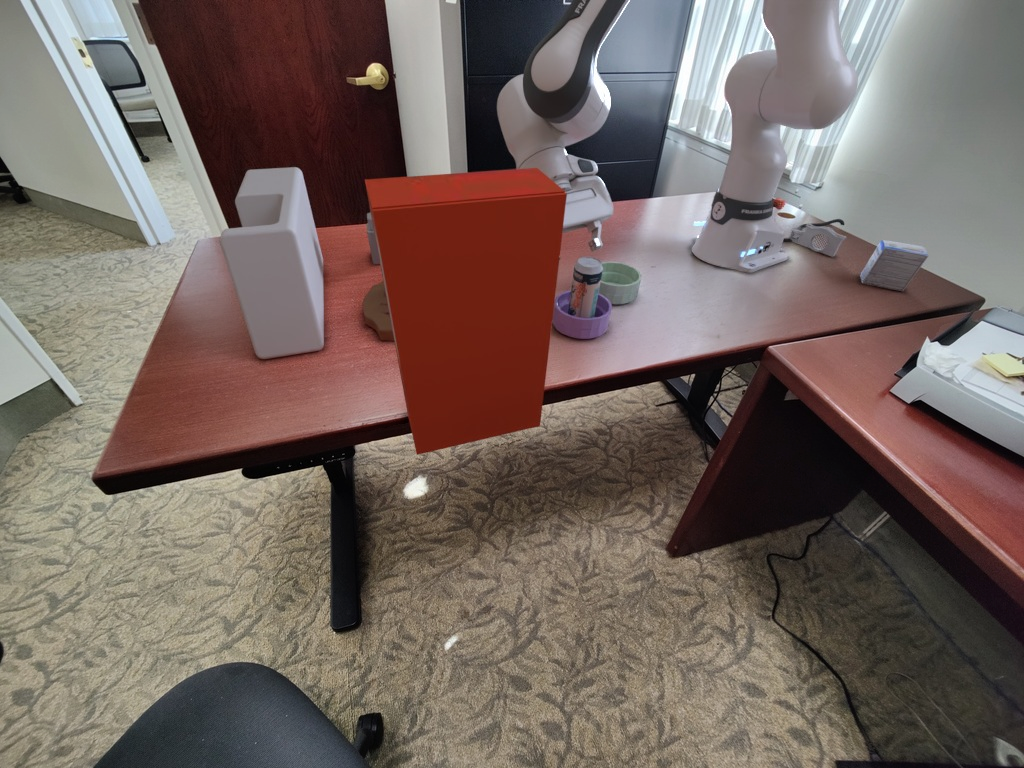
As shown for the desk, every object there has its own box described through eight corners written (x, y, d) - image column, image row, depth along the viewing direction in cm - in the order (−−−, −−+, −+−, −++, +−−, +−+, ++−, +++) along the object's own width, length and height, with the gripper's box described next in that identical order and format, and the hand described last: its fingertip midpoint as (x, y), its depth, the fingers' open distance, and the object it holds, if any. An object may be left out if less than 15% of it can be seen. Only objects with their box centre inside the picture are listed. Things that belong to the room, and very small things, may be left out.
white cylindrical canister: (564, 315, 82) (572, 255, 74) (589, 315, 83) (600, 255, 75) (569, 330, 79) (578, 268, 71) (595, 329, 79) (606, 268, 71)
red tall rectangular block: (540, 428, 61) (567, 192, 40) (417, 457, 57) (372, 208, 35) (521, 391, 67) (535, 166, 45) (407, 414, 62) (364, 178, 41)
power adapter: (386, 252, 101) (377, 199, 93) (387, 263, 97) (378, 208, 89) (372, 253, 100) (362, 199, 92) (373, 264, 96) (362, 209, 88)
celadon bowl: (620, 278, 95) (624, 258, 92) (646, 301, 88) (651, 281, 85) (578, 284, 92) (580, 265, 89) (601, 309, 85) (605, 289, 82)
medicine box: (899, 283, 97) (925, 246, 91) (903, 292, 94) (930, 254, 88) (858, 275, 99) (881, 238, 94) (861, 284, 96) (884, 246, 90)
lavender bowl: (591, 306, 86) (594, 286, 83) (617, 335, 79) (622, 314, 76) (543, 314, 83) (545, 294, 80) (566, 345, 76) (569, 323, 73)
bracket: (287, 320, 97) (244, 170, 85) (336, 313, 99) (301, 167, 88) (256, 361, 70) (188, 150, 58) (325, 350, 72) (273, 146, 61)
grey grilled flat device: (786, 240, 113) (796, 217, 109) (789, 238, 114) (800, 216, 110) (832, 258, 106) (845, 234, 102) (836, 256, 107) (849, 232, 103)
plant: (356, 294, 86) (344, 239, 79) (451, 277, 93) (448, 225, 85) (375, 352, 73) (361, 292, 65) (484, 328, 79) (484, 271, 72)
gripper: (503, 177, 67) (535, 262, 68) (602, 160, 76) (631, 235, 76) (488, 198, 73) (518, 276, 73) (582, 180, 81) (609, 250, 82)
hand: (576, 255), depth 75 cm, fingers open, 8 cm apart
